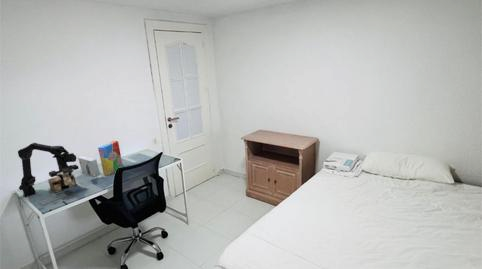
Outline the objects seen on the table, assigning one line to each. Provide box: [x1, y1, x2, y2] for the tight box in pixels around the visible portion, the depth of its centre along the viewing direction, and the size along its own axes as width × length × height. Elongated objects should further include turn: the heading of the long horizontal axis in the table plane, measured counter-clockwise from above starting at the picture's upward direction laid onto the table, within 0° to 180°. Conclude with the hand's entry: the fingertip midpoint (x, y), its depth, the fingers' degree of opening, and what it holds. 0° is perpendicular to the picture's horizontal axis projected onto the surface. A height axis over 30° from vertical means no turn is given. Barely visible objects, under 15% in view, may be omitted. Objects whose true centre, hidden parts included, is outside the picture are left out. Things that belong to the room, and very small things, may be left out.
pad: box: [39, 192, 68, 206], centre depth 189 cm, size 16×7×1 cm, turn 141°
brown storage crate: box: [47, 173, 77, 194], centre depth 206 cm, size 16×9×9 cm, turn 141°
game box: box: [97, 140, 124, 176], centre depth 233 cm, size 21×6×27 cm, turn 168°
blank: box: [60, 172, 72, 186], centre depth 196 cm, size 4×14×6 cm, turn 46°
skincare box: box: [77, 155, 101, 177], centre depth 230 cm, size 21×5×16 cm, turn 62°
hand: (66, 180), depth 196 cm, fingers closed on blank, 4 cm apart
